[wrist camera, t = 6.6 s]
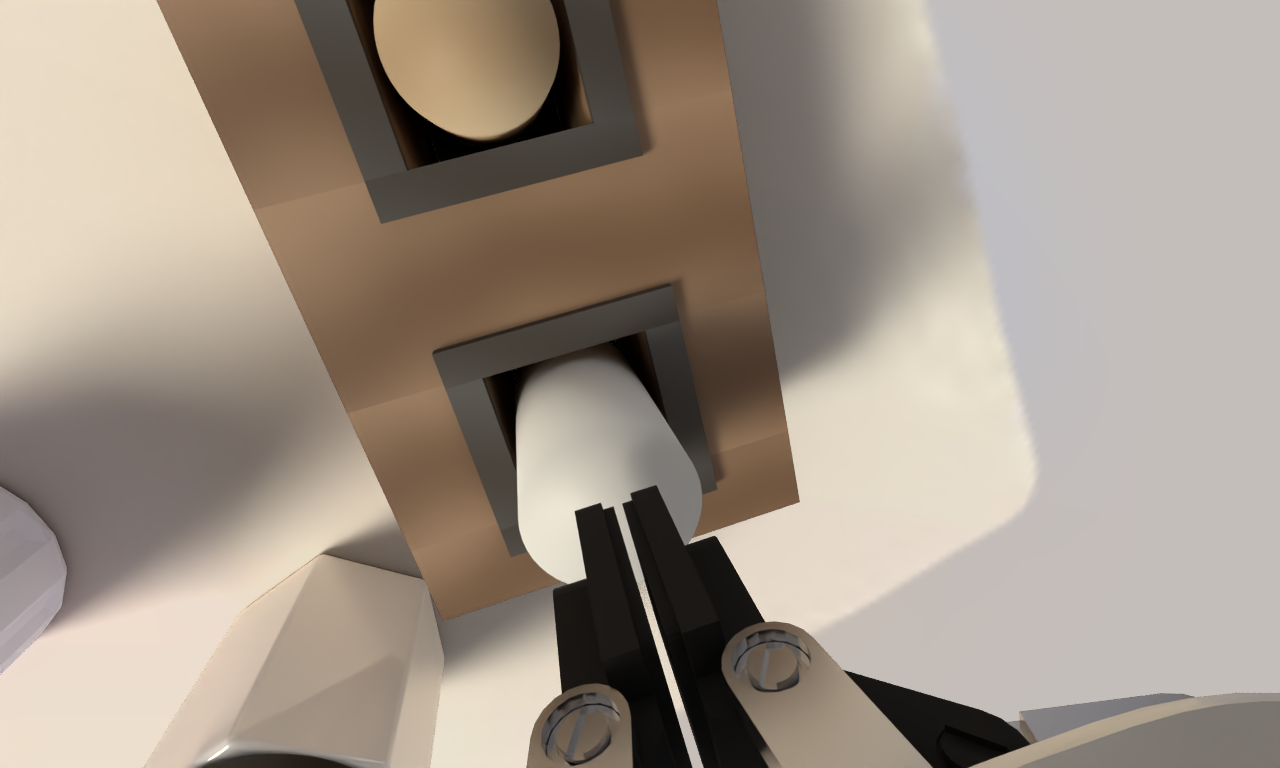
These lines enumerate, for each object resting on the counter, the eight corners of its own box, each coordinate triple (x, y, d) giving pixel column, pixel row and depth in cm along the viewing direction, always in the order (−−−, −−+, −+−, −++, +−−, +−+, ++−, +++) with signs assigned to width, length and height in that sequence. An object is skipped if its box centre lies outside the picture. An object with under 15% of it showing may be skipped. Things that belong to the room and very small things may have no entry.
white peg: (498, 353, 19) (492, 459, 12) (619, 318, 20) (681, 400, 13) (536, 461, 21) (549, 612, 14) (647, 427, 21) (717, 555, 14)
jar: (335, 739, 29) (227, 1090, 18) (195, 639, 26) (-42, 987, 15) (485, 632, 29) (471, 920, 18) (361, 518, 26) (248, 781, 15)
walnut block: (245, -38, 19) (61, -185, 11) (611, -115, 20) (674, -296, 12) (462, 495, 26) (441, 630, 18) (721, 413, 28) (805, 508, 20)
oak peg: (403, 33, 20) (342, -47, 13) (522, 6, 20) (530, -86, 13) (446, 161, 21) (413, 153, 14) (556, 132, 22) (580, 112, 14)
